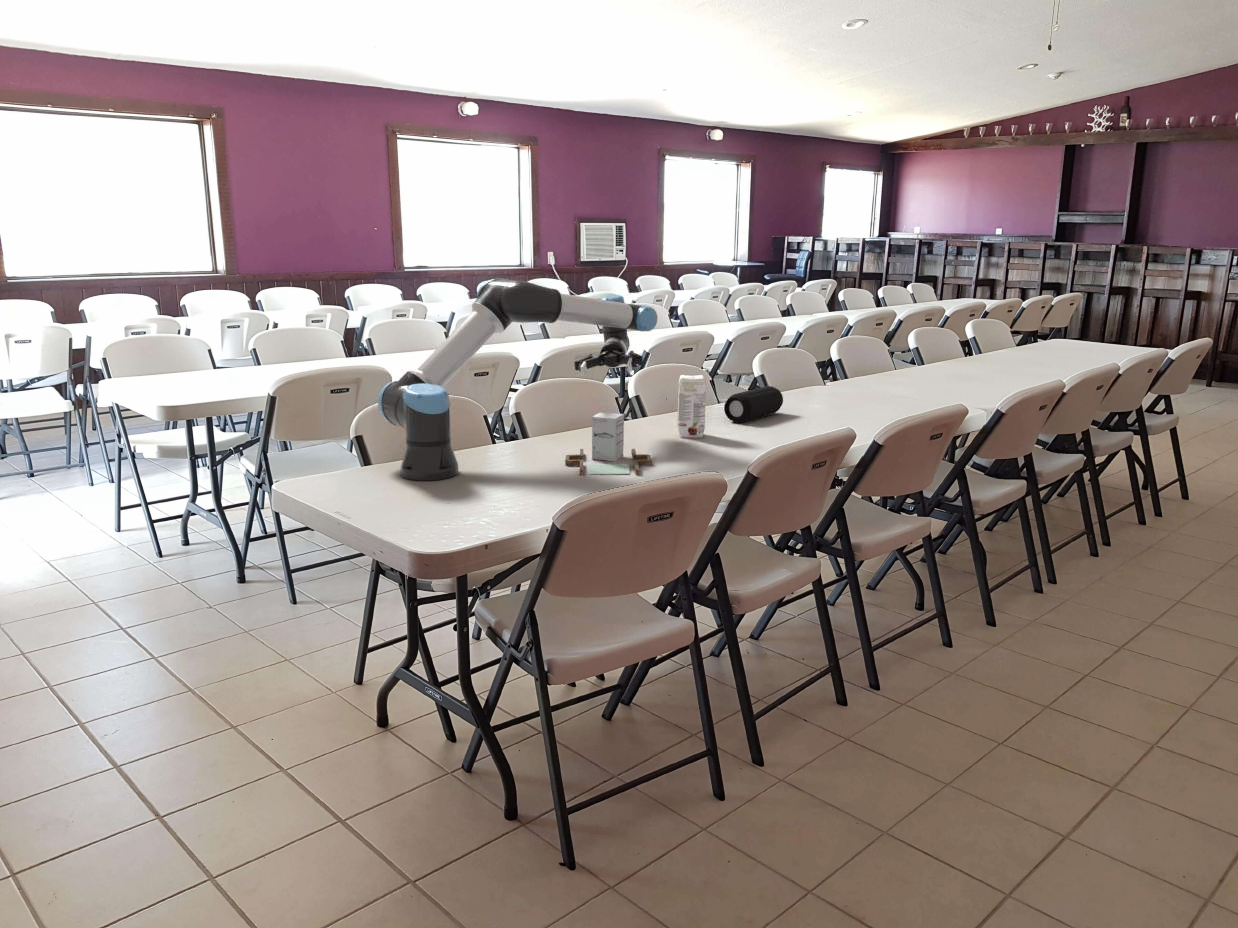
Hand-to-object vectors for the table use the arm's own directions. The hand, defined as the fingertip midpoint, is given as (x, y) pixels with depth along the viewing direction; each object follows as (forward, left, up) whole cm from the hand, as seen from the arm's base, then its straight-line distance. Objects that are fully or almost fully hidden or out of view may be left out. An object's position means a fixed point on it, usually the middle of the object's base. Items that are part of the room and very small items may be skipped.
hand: (605, 369), depth 270 cm
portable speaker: (+53, +52, -25) cm, 78 cm away
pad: (+1, -19, -25) cm, 31 cm away
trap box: (+1, -12, -25) cm, 28 cm away
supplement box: (+1, -5, -25) cm, 25 cm away
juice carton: (+28, +24, -25) cm, 44 cm away
